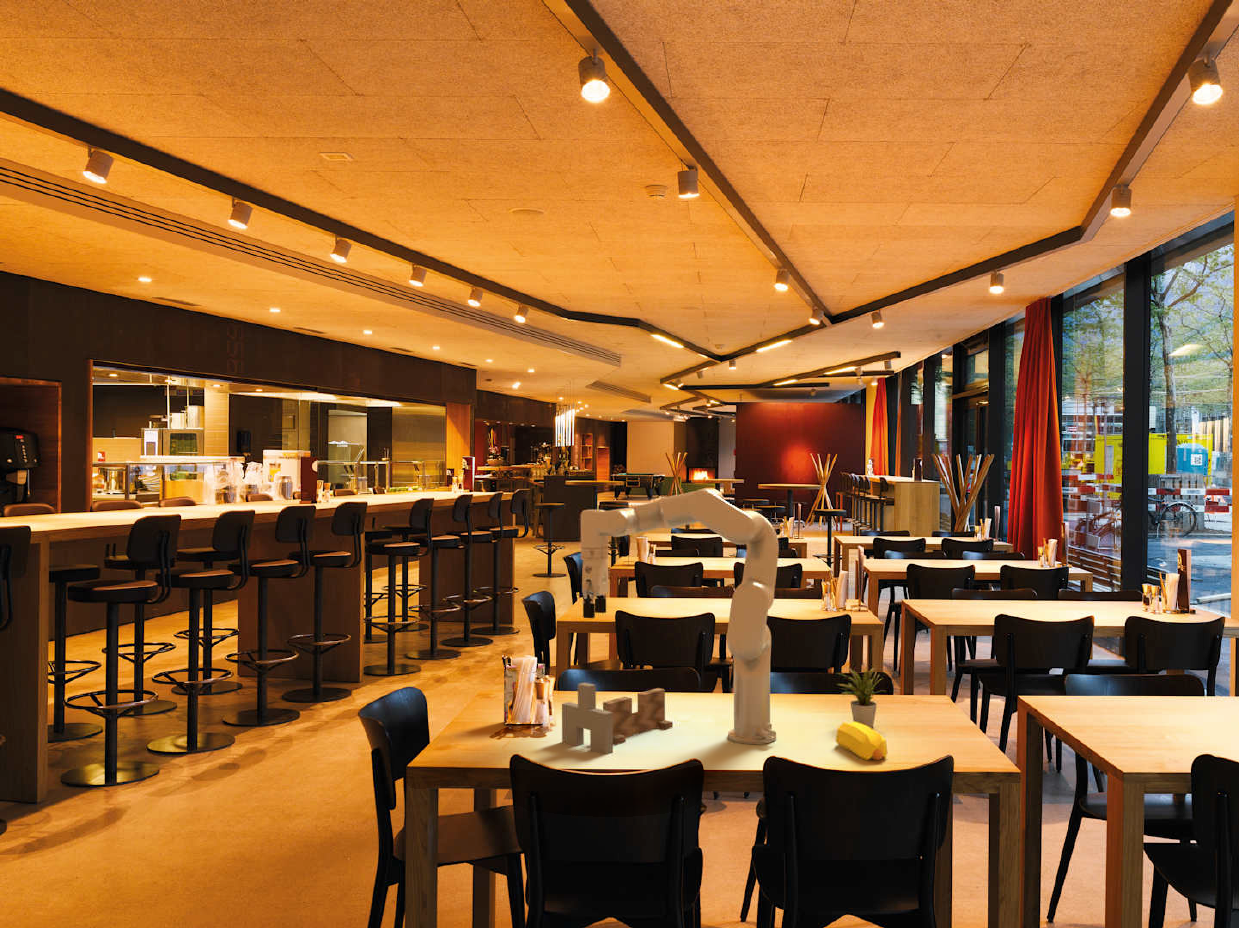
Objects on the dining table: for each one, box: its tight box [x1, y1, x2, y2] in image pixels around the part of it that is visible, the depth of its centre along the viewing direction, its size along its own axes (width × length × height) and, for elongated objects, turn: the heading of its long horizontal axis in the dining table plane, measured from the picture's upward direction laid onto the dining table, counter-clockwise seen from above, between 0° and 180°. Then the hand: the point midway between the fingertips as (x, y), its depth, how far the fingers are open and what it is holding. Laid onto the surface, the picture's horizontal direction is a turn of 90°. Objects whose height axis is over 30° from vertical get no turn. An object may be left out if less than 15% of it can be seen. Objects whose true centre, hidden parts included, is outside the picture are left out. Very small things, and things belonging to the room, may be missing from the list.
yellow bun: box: [835, 721, 888, 761], centre depth 238 cm, size 18×7×8 cm
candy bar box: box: [503, 663, 546, 725], centre depth 267 cm, size 11×5×16 cm, turn 92°
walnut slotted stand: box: [602, 687, 674, 745], centre depth 257 cm, size 22×8×10 cm, turn 137°
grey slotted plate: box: [561, 682, 614, 755], centre depth 244 cm, size 16×2×16 cm, turn 47°
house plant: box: [837, 667, 886, 729], centre depth 264 cm, size 14×14×16 cm
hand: (594, 615), depth 265 cm, fingers open, 9 cm apart
